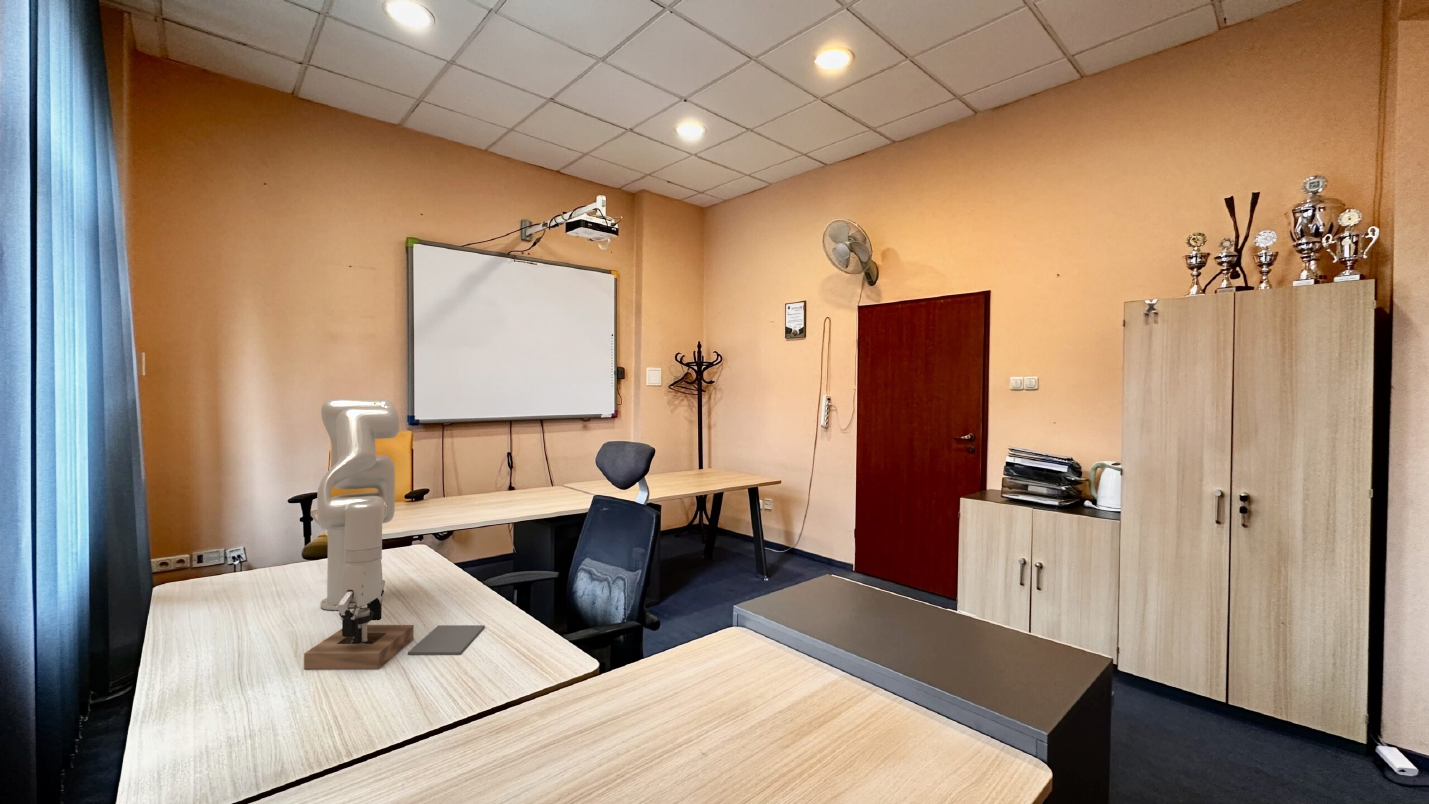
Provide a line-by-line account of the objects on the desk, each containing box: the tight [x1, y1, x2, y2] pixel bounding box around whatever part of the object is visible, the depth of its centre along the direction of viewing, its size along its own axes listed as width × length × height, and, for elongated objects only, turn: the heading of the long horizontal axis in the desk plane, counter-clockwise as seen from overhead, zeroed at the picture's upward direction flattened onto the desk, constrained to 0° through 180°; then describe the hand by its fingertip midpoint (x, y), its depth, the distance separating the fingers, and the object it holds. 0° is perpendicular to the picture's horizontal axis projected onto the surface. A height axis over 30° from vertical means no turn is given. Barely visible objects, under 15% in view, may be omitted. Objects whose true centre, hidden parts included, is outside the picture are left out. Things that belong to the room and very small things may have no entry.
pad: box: [407, 624, 486, 656], centre depth 142 cm, size 16×12×1 cm
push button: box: [350, 606, 374, 644], centre depth 134 cm, size 7×5×10 cm
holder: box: [303, 624, 415, 670], centre depth 134 cm, size 16×16×4 cm
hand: (362, 627), depth 134 cm, fingers open, 9 cm apart
